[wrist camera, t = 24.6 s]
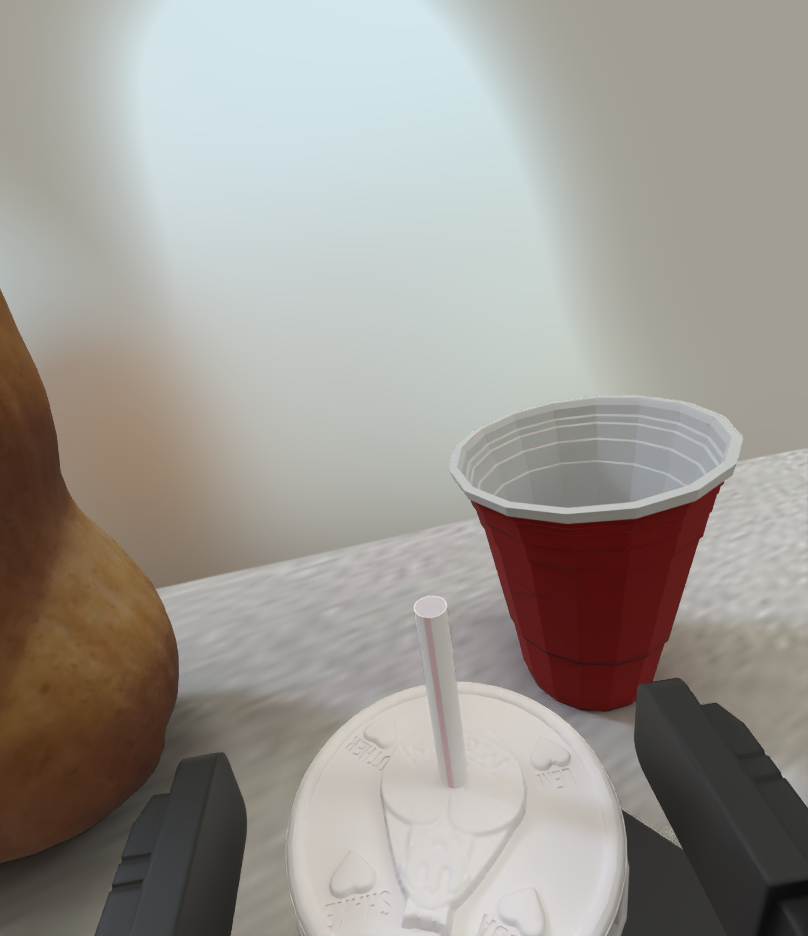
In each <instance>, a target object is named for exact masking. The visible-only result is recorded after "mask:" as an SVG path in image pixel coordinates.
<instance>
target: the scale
mask: <svg viewBox="0 0 808 936" xmlns="http://www.w3.org/2000/svg"><path fill="white" fill-rule="evenodd" d="M622 814H623V819H624V824H625V831H626V838H627V859H628V864H629V884H628V904H627V919H626V922H625V925H624V928H623V931H622V934H621V936H728V935H727V933H726V931H725V930H724V928H723V926H722V924H721V922H720V920H719V918H718V916H717V914H716V912H715V910H714V908H713V906H712V904H711V902H710V900H709V898H708V897H707V895H706V893H705V891H704V889H703V887H702V885H701V883H700V881H699V879H698V877H697V875H696V873H695V871H694V869H693V867H692V865H691V864H690V862H689V860H688V858H687V856H686V854H685V852H684V850H682V849H681V848H679V847H678V846H676V845H675V844H673V843H672V842H670V841H669V840H667V839H666V838H664V837H663V836H661V835H660V834H658V833H657V832H655V831H653V830H652V829H650V828H649V827H647V826H646V825H644V824H643V823H641V822H640V821H638V820H637V819H635V818H634V817H632V816H631V815H629V814H628V813H626V812H625V811H623V810H622Z"/></svg>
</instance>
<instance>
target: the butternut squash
mask: <svg viewBox="0 0 808 936" xmlns="http://www.w3.org/2000/svg"><path fill="white" fill-rule="evenodd" d="M178 677H179V660H178V650H177V643H176V639H175V635H174V632H173V629H172V625H171V622H170V620H169V618H168V615H167V613H166V611H165V608H164V605H163V603H162V601H161V599H160V597H159V595H158V593H157V591H156V589H155V587H154V585H153V584H152V582H151V581H150V580H149V579H148V577H147V576H146V575H145V574H144V573H143V572H142V570H141V569H140V568H139V567H138V566H137V565H136V563H135V562H134V561H133V560H132V559H131V558H130V557H129V556H128V555H127V553H126V552H125V551H124V550H123V549H122V548H121V547H120V546H119V544H118V543H117V542H116V541H115V540H113V539H112V538H111V537H110V536H109V535H108V534H106V533H105V532H104V531H103V530H102V529H101V528H100V527H99V526H98V525H97V524H96V523H94V522H93V521H92V520H91V519H89V518H88V517H87V516H86V515H85V514H84V513H83V512H82V511H81V510H80V508H79V507H78V506H77V504H76V503H75V501H74V500H73V499H72V497H71V495H70V494H69V492H68V490H67V487H66V484H65V482H64V479H63V477H62V474H61V470H60V461H59V452H58V444H57V435H56V430H55V426H54V422H53V418H52V414H51V409H50V405H49V401H48V397H47V394H46V391H45V388H44V386H43V383H42V381H41V378H40V375H39V373H38V370H37V368H36V366H35V364H34V362H33V360H32V358H31V355H30V353H29V351H28V349H27V347H26V345H25V343H24V341H23V339H22V337H21V335H20V333H19V331H18V329H17V326H16V324H15V322H14V320H13V317H12V315H11V312H10V310H9V308H8V305H7V303H6V301H5V298H4V296H3V294H2V292H1V290H0V863H2V862H6V861H10V860H14V859H19V858H22V857H26V856H29V855H33V854H36V853H38V852H41V851H43V850H45V849H48V848H50V847H52V846H54V845H57V844H59V843H61V842H64V841H66V840H68V839H70V838H73V837H75V836H77V835H79V834H81V833H83V832H84V831H85V830H87V829H88V828H90V827H91V826H93V825H94V824H96V823H97V822H99V821H100V820H101V819H103V818H104V817H106V816H107V815H108V814H110V813H111V812H112V811H113V810H115V809H116V808H117V807H119V806H120V805H121V804H122V803H123V802H125V801H126V800H127V799H128V798H129V797H130V796H131V795H132V794H134V793H135V792H136V791H137V790H138V789H139V788H140V787H141V786H142V785H143V784H144V783H145V782H146V781H147V779H148V778H149V777H150V775H151V774H152V773H153V772H154V770H155V768H156V766H157V764H158V763H159V760H160V756H161V753H162V751H163V748H164V740H165V730H166V727H167V724H168V721H169V719H170V716H171V714H172V711H173V709H174V705H175V702H176V699H177V693H178Z"/></svg>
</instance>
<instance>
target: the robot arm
mask: <svg viewBox="0 0 808 936" xmlns="http://www.w3.org/2000/svg"><path fill="white" fill-rule="evenodd" d="M634 742H635V748H636V753H637V756H638V760H639V763H640V765H641V768H642V770H643V772H644V774H645V776H646V778H647V780H648V782H649V784H650V786H651V788H652V790H653V792H654V794H655V796H656V798H657V800H658V801H659V803H660V805H661V807H662V809H663V811H664V813H665V815H666V817H667V819H668V821H669V823H670V825H671V827H672V829H673V831H674V833H675V834H676V836H677V838H678V840H679V842H680V844H681V846H682V848H683V850H684V852H685V854H686V856H687V858H688V860H689V862H690V864H691V865H692V867H693V869H694V871H695V873H696V875H697V877H698V879H699V881H700V883H701V885H702V887H703V889H704V891H705V893H706V895H707V897H708V898H709V900H710V902H711V904H712V906H713V908H714V910H715V912H716V914H717V916H718V918H719V920H720V922H721V924H722V926H723V928H724V930H725V931H726V933H727V935H728V936H808V808H807V806H806V805H805V804H804V802H803V801H802V800H801V798H800V797H799V796H798V794H797V793H796V792H795V790H794V789H793V788H792V786H791V785H790V784H789V782H788V781H787V780H786V778H783V777H782V775H781V772H780V771H779V769H778V768H777V767H776V765H775V764H774V763H773V761H772V760H771V759H770V757H769V756H766V755H765V753H764V749H763V748H762V747H761V745H760V744H759V743H758V741H757V740H756V739H755V737H754V736H753V735H752V733H751V732H750V731H749V729H748V728H747V727H746V726H745V724H744V723H743V722H741V721H740V720H739V719H737V718H736V717H735V716H733V715H732V714H731V713H729V712H728V711H727V710H725V709H724V708H723V707H721V706H720V705H719V704H717V703H711V704H705V705H700V703H699V702H698V700H697V699H696V697H695V696H694V695H693V693H692V692H691V690H690V689H689V687H688V686H687V685H686V683H685V682H684V681H682V680H681V679H679V678H673V679H667V680H661V681H655V682H649V683H643V684H640V685H639V686H638V688H637V699H636V715H635V730H634ZM246 833H247V815H246V808H245V803H244V800H243V797H242V795H241V792H240V789H239V787H238V784H237V782H236V779H235V776H234V774H233V771H232V769H231V766H230V764H229V761H228V758H227V756H226V755H225V753H223V752H220V753H214V754H208V755H202V756H196V757H190V758H185V759H183V760H181V762H180V763H179V765H178V767H177V770H176V773H175V777H174V780H173V783H172V787H171V790H170V793H165V794H159V795H153V797H152V798H151V800H150V801H149V802H148V804H147V805H146V807H145V808H144V810H143V811H142V812H141V814H140V815H139V817H138V818H137V820H136V821H135V822H134V824H133V825H132V828H131V831H130V834H129V837H128V840H127V843H126V846H125V849H124V852H123V854H122V857H121V858H122V862H121V864H119V866H118V869H117V872H116V875H115V878H114V881H113V884H112V891H111V892H109V895H108V898H107V901H106V904H105V907H104V910H103V913H102V916H101V918H100V921H99V924H98V927H97V930H96V933H95V936H231V930H232V924H233V917H234V911H235V905H236V898H237V892H238V886H239V879H240V873H241V867H242V861H243V854H244V848H245V842H246Z"/></svg>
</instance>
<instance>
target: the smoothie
mask: <svg viewBox="0 0 808 936" xmlns="http://www.w3.org/2000/svg"><path fill="white" fill-rule="evenodd" d="M414 614H415V620H416V626H417V633H418V639H419V646H420V652H421V659H422V665H423V672H424V678H425V685H420V686H416V687H412V688H409V689H406V690H403V691H399V692H397V693H394V694H392V695H390V696H387V697H385V698H383V699H381V700H379V701H377V702H375V703H373V704H372V705H370V706H368V707H367V708H365V709H363V710H362V711H360V712H359V713H358V714H356V715H355V716H353V717H352V718H351V719H350V720H348V721H347V722H346V723H345V724H344V725H343V726H341V727H340V728H339V729H338V730H337V731H336V732H335V733H334V734H333V735H332V736H331V737H330V739H329V740H328V741H327V742H326V743H325V744H324V746H323V747H322V748H321V749H320V751H319V752H318V754H317V755H316V756H315V758H314V759H313V761H312V763H311V764H310V766H309V768H308V769H307V771H306V773H305V775H304V777H303V779H302V781H301V783H300V785H299V788H298V790H297V793H296V796H295V798H294V801H293V805H292V808H291V812H290V816H289V821H288V826H287V833H286V843H285V867H286V876H287V884H288V888H289V893H290V898H291V901H292V905H293V909H294V913H295V917H296V922H297V926H298V931H299V935H300V936H621V934H622V931H623V928H624V925H625V922H626V919H627V904H628V884H629V864H628V859H627V838H626V831H625V824H624V819H623V814H622V810H621V806H620V803H619V800H618V797H617V794H616V791H615V788H614V786H613V784H612V782H611V780H610V777H609V775H608V773H607V772H606V770H605V768H604V766H603V765H602V763H601V761H600V760H599V758H598V757H597V755H596V754H595V752H594V751H593V750H592V748H591V747H590V746H589V745H588V743H587V742H586V741H585V740H584V739H583V737H582V736H581V735H580V734H579V733H578V732H577V731H576V730H575V729H574V728H573V727H572V726H571V725H569V724H568V723H567V722H566V721H565V720H563V719H562V718H561V717H560V716H558V715H557V714H556V713H554V712H553V711H551V710H550V709H548V708H547V707H545V706H543V705H542V704H540V703H538V702H536V701H534V700H532V699H530V698H528V697H526V696H524V695H521V694H519V693H516V692H514V691H511V690H508V689H504V688H501V687H497V686H493V685H488V684H482V683H475V682H457V681H456V673H455V665H454V657H453V649H452V641H451V633H450V624H449V616H448V608H447V603H446V601H445V600H444V599H443V598H441V597H438V596H426V597H423V598H421V599H419V600H418V601H417V602H416V603H415V605H414Z"/></svg>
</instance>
